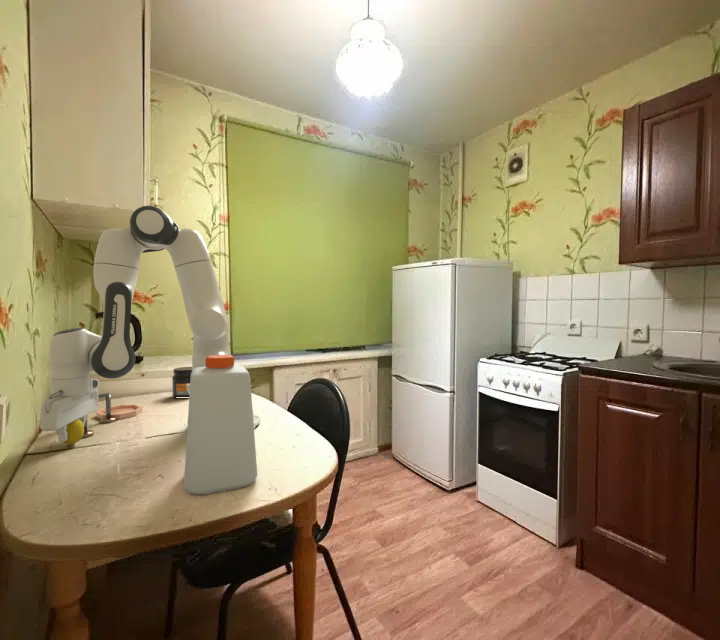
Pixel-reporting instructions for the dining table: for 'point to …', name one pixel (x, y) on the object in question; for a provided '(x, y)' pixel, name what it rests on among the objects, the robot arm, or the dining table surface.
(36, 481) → the dining table surface
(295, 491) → the dining table surface
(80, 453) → the dining table surface
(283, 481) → the dining table surface
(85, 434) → the metal pipe stand
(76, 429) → the lemon
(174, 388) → the supplement container
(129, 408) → the terracotta dish
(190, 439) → the plastic bottle
